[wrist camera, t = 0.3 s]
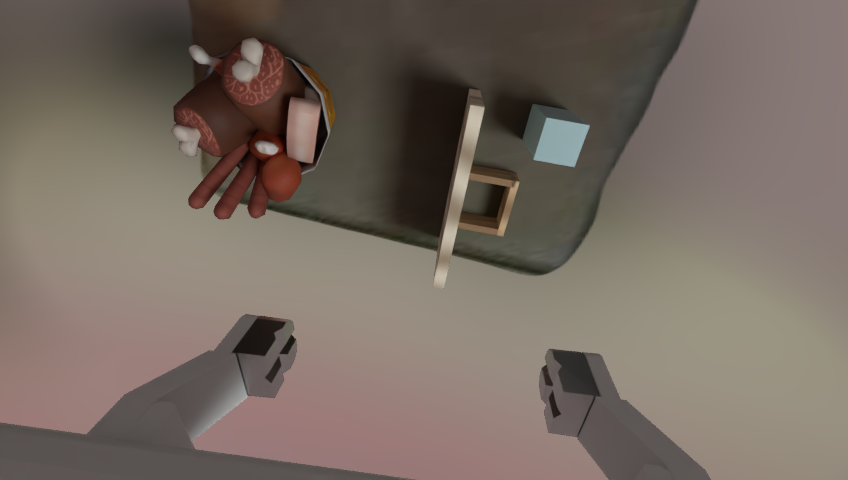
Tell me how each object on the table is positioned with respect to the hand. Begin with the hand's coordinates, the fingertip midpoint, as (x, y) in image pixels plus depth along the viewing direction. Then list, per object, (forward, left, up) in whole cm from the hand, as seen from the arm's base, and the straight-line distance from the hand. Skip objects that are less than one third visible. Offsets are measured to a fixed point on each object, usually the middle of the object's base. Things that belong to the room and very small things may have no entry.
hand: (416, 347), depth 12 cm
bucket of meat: (+4, -23, -46) cm, 52 cm away
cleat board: (+9, +6, -46) cm, 47 cm away
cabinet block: (0, +13, -46) cm, 48 cm away
